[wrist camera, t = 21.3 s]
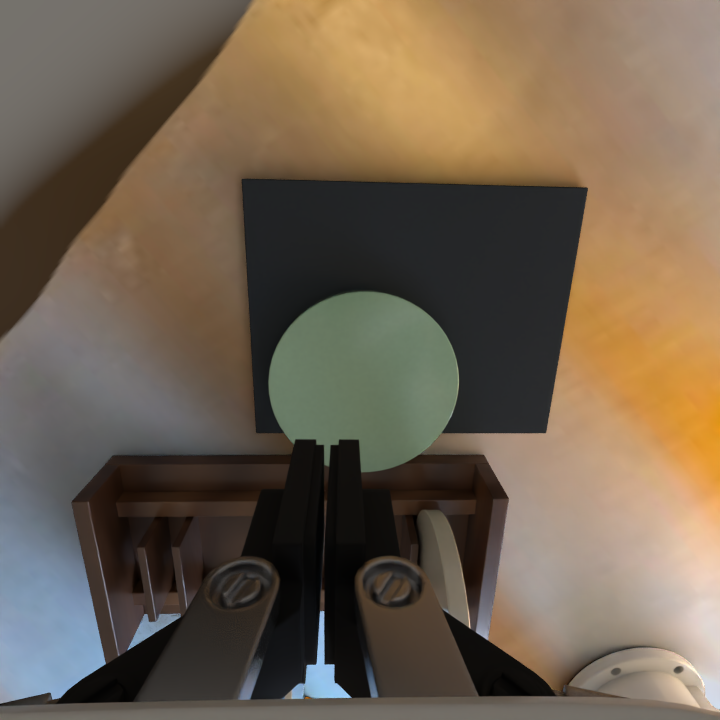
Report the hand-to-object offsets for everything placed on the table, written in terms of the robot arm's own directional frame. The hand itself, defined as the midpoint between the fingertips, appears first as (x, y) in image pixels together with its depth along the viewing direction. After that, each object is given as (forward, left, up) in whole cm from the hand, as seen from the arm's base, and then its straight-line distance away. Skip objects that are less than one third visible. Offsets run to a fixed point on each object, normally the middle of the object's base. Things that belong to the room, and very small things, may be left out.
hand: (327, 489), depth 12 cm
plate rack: (+2, +16, -18) cm, 24 cm away
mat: (-5, 0, -18) cm, 19 cm away
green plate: (-2, +4, -17) cm, 17 cm away
